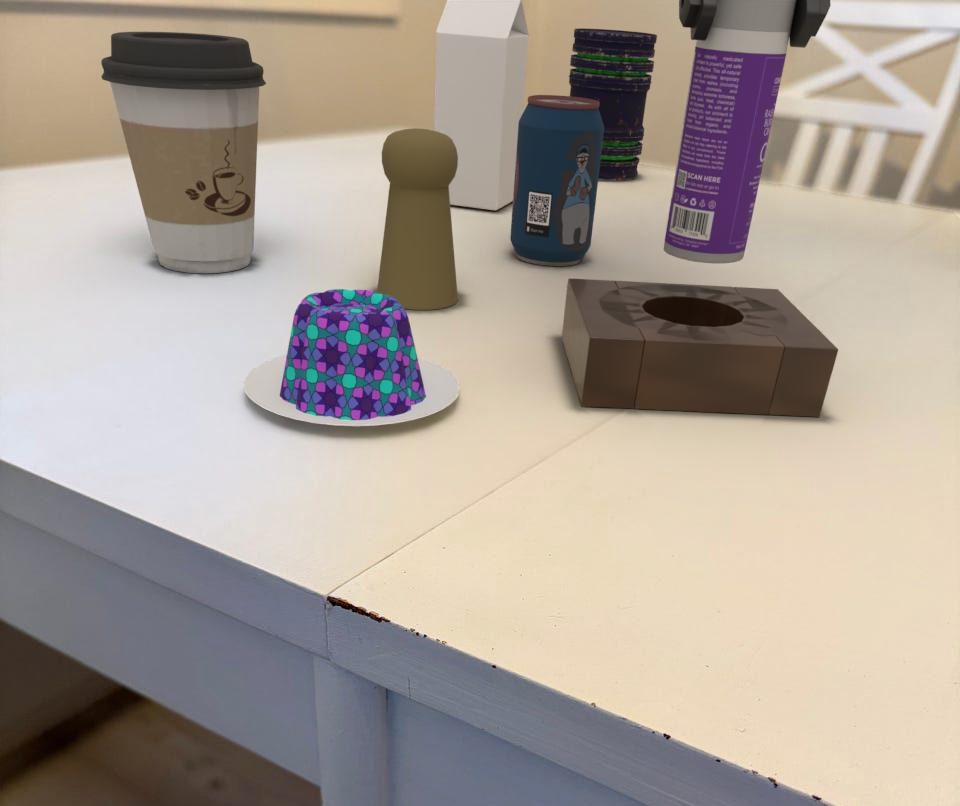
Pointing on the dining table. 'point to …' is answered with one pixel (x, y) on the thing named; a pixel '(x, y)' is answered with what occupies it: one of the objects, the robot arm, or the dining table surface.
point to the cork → (419, 220)
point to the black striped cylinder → (615, 92)
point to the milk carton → (481, 96)
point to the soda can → (556, 179)
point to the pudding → (351, 365)
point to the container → (727, 129)
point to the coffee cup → (190, 142)
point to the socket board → (694, 349)
